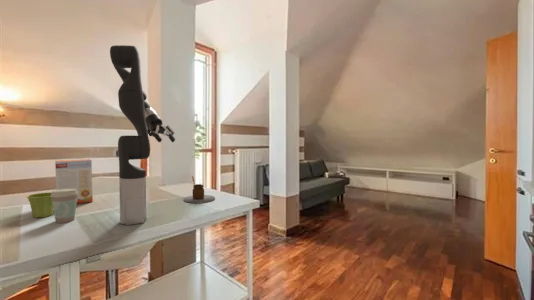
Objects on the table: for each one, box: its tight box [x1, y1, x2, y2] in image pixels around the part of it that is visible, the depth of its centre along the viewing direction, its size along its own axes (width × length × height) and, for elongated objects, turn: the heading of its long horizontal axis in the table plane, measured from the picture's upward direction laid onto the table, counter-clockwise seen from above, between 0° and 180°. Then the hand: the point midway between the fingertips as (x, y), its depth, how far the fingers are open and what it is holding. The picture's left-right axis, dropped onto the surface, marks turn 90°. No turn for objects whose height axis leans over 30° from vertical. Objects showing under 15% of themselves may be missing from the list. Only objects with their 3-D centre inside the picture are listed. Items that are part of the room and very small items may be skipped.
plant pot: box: [26, 192, 54, 218], centre depth 108 cm, size 9×9×9 cm
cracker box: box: [54, 158, 94, 205], centre depth 128 cm, size 14×6×21 cm, turn 130°
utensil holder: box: [191, 175, 205, 199], centre depth 139 cm, size 6×6×12 cm
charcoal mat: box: [183, 194, 216, 204], centre depth 140 cm, size 16×16×1 cm
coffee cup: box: [50, 188, 78, 224], centre depth 103 cm, size 8×9×12 cm
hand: (167, 141), depth 133 cm, fingers open, 8 cm apart
